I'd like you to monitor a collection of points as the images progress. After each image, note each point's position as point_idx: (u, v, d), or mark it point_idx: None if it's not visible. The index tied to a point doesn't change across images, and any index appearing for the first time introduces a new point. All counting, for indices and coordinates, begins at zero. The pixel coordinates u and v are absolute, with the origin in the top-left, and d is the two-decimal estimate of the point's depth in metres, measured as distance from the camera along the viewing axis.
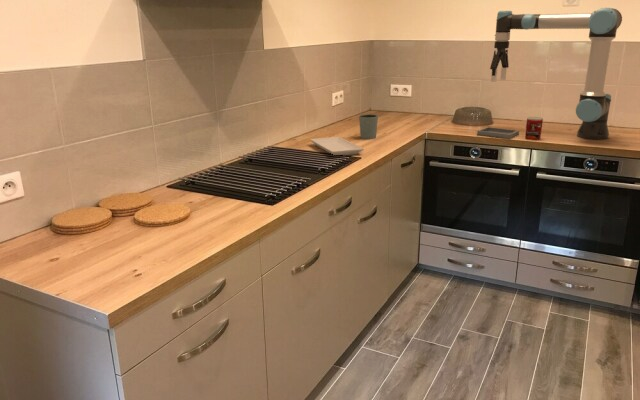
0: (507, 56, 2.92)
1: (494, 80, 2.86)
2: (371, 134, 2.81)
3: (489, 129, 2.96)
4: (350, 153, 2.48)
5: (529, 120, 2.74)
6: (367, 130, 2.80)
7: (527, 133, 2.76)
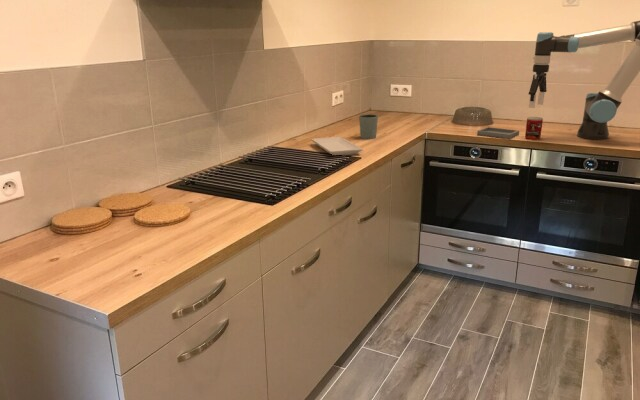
0: (545, 80, 2.74)
1: (532, 106, 2.67)
2: (371, 134, 2.81)
3: (489, 129, 2.96)
4: (349, 153, 2.48)
5: (529, 120, 2.74)
6: (367, 130, 2.80)
7: (527, 133, 2.76)
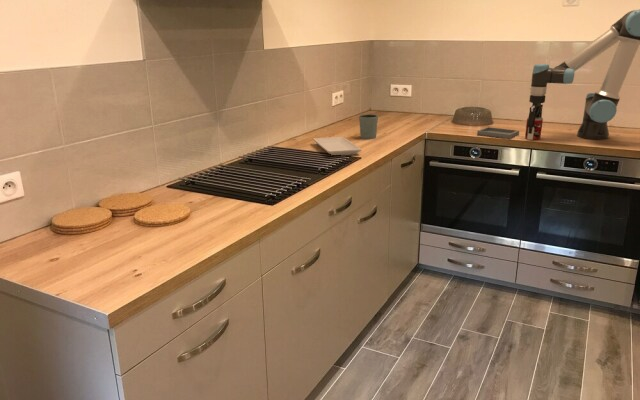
0: (541, 112, 2.78)
1: (530, 138, 2.74)
2: (371, 134, 2.81)
3: (489, 129, 2.96)
4: (347, 153, 2.48)
5: None
6: (367, 130, 2.80)
7: (527, 133, 2.76)
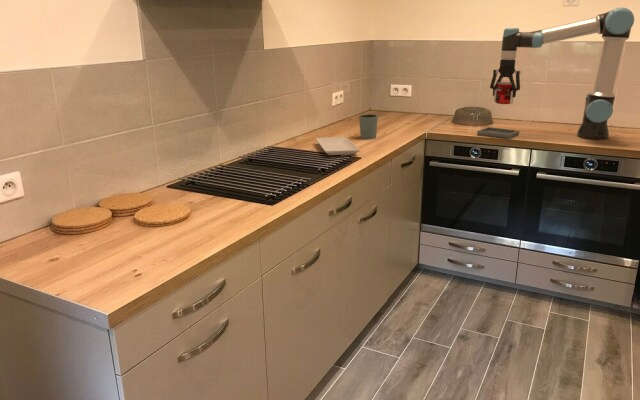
0: (517, 78, 2.73)
1: None
2: (371, 134, 2.81)
3: (489, 129, 2.96)
4: (345, 154, 2.47)
5: None
6: (367, 130, 2.80)
7: None
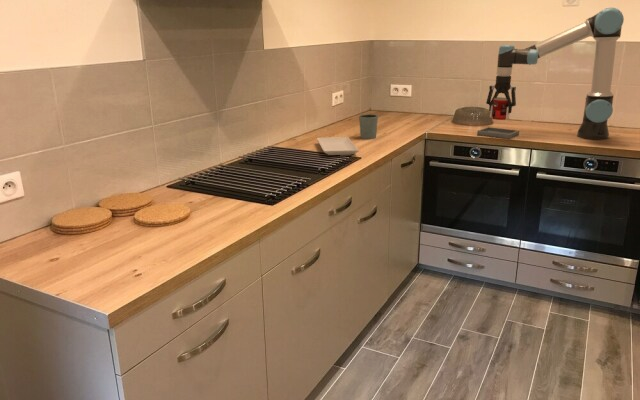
0: (512, 95, 2.76)
1: None
2: (371, 134, 2.81)
3: (489, 129, 2.96)
4: (344, 154, 2.47)
5: None
6: (367, 130, 2.80)
7: None
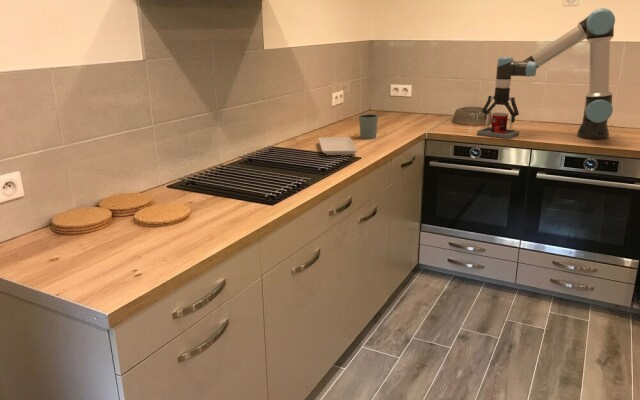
0: (513, 105, 2.77)
1: None
2: (371, 134, 2.81)
3: (489, 129, 2.96)
4: (343, 154, 2.47)
5: None
6: (367, 130, 2.80)
7: None
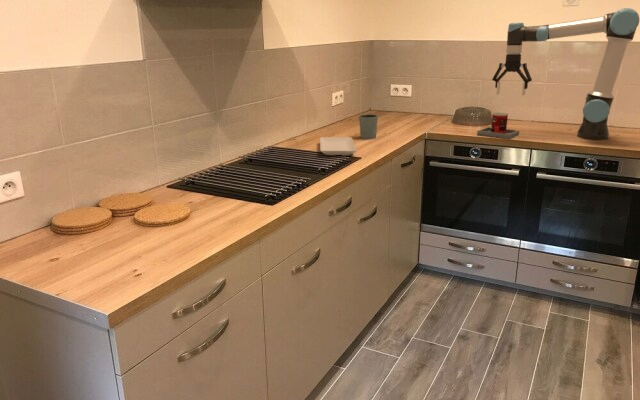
0: (525, 70, 2.73)
1: None
2: (371, 134, 2.81)
3: (489, 129, 2.96)
4: (341, 154, 2.47)
5: None
6: (367, 130, 2.80)
7: None
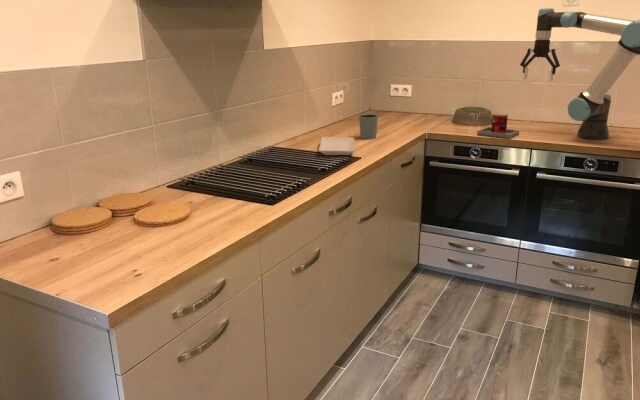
0: (554, 56, 2.76)
1: None
2: (371, 134, 2.81)
3: (489, 129, 2.96)
4: (340, 154, 2.47)
5: None
6: (367, 130, 2.80)
7: None
